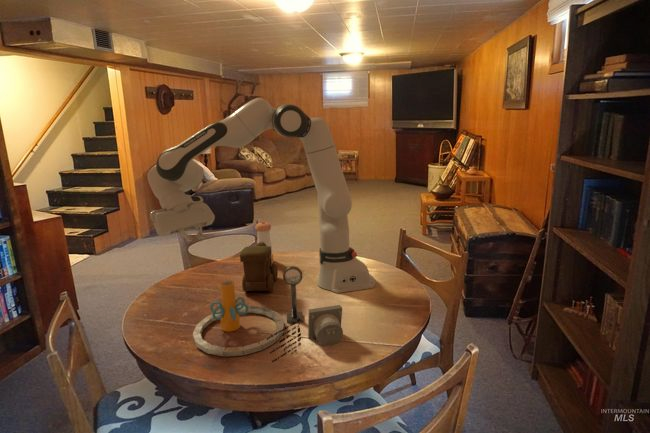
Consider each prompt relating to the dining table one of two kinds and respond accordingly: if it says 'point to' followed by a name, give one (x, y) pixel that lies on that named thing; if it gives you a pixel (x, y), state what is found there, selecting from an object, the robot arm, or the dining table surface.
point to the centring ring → (245, 349)
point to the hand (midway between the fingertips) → (195, 239)
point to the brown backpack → (258, 268)
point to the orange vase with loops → (229, 308)
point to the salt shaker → (264, 234)
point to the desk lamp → (293, 291)
